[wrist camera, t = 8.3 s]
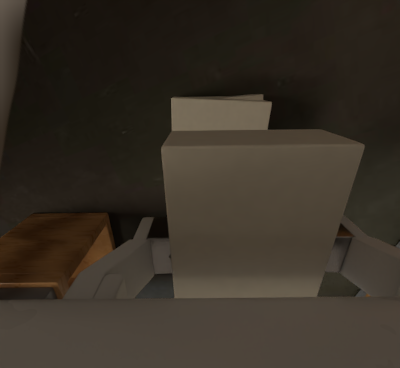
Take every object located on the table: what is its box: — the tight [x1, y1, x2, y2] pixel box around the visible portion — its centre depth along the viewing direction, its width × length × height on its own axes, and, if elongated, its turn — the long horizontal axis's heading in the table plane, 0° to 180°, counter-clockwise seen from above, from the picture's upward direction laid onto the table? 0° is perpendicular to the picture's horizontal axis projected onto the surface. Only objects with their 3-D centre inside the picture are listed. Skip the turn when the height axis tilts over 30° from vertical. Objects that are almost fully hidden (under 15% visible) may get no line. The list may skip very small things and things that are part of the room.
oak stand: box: [0, 213, 116, 300], centre depth 24 cm, size 10×12×14 cm
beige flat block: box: [161, 129, 365, 298], centre depth 9 cm, size 6×9×2 cm, turn 1°
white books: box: [171, 94, 272, 131], centre depth 21 cm, size 9×10×6 cm
